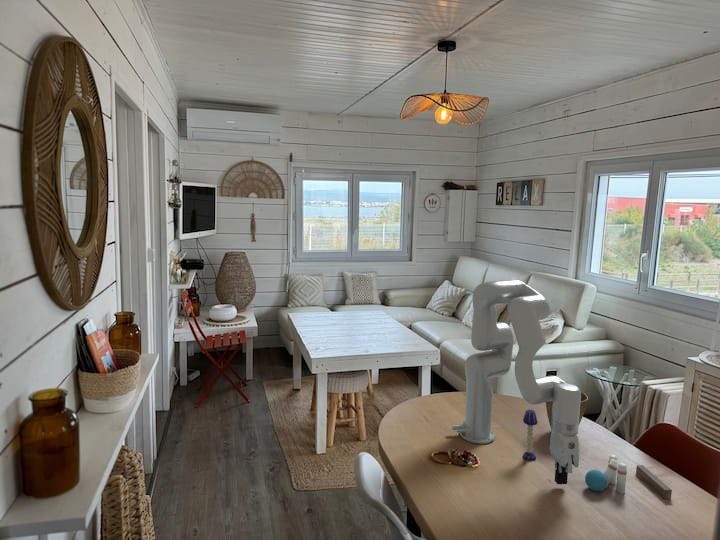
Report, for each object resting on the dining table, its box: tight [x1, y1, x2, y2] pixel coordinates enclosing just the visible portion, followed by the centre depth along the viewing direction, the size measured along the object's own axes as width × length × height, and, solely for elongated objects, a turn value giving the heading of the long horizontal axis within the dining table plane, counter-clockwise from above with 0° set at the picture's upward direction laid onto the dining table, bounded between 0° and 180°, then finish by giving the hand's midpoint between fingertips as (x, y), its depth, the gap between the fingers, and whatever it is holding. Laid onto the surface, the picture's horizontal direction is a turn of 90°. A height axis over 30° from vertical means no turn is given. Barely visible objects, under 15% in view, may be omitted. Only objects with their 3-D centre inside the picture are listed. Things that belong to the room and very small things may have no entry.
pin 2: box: [615, 462, 628, 495], centre depth 150 cm, size 2×2×8 cm
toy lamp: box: [522, 409, 538, 462], centre depth 168 cm, size 5×5×17 cm
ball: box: [584, 469, 607, 492], centre depth 150 cm, size 6×6×6 cm
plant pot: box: [545, 391, 589, 431], centre depth 186 cm, size 15×15×16 cm
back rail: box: [635, 464, 673, 501], centre depth 153 cm, size 2×14×3 cm, turn 3°
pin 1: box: [608, 453, 619, 485], centre depth 155 cm, size 2×2×8 cm
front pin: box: [603, 459, 620, 489], centre depth 152 cm, size 2×2×8 cm
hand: (560, 482), depth 152 cm, fingers closed
